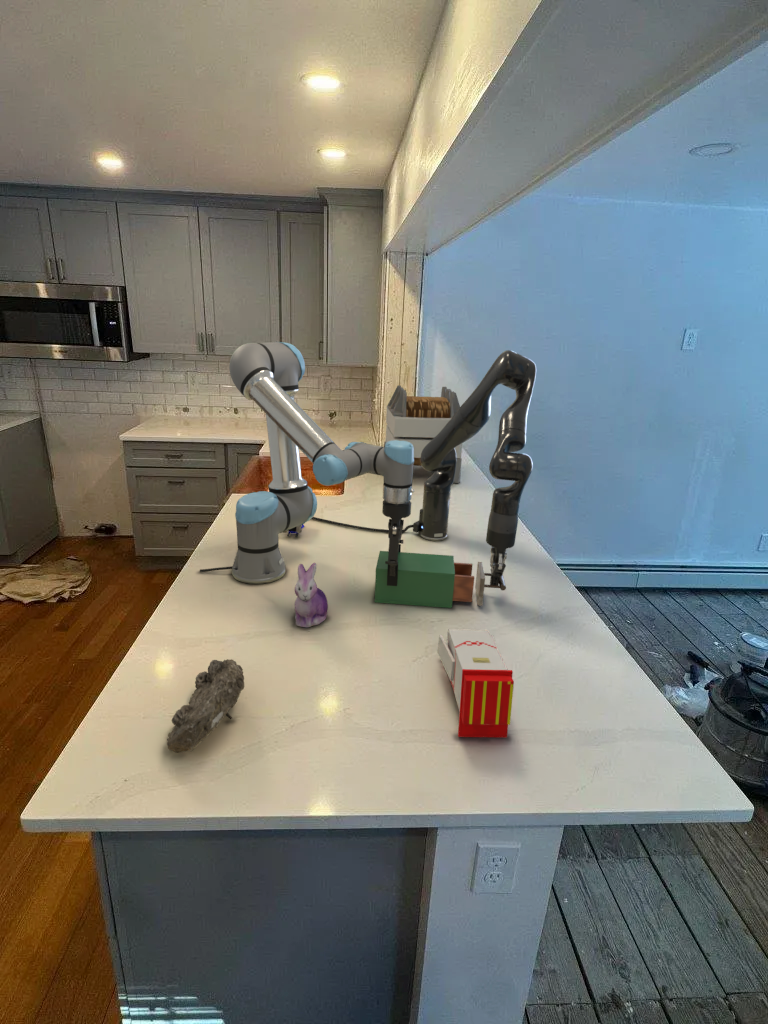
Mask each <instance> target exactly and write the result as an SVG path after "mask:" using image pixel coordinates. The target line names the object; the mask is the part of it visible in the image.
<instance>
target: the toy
mask: <svg viewBox="0 0 768 1024" xmlns="http://www.w3.org/2000/svg"><path fill="white" fill-rule="evenodd" d="M446 640H447V643H446V641H445V639H444V636H443V635H442V634H439V637H438V646H437V656H438V657H439V659H440V661H441V663H442V666H443V668H444V670H445V672H446V674H447V677H448V679H449V681H450V684H451V687H452V690H453V693H454V697H455V701H456V705H457V708H458V711H459V714H458V715H459V716H458V730H457V731H458V732H457V737H458V738H508V731H509V726H510V725H511V717H512V707H513V697H514V696H513V695H514V684H515V680H514V679H513V673H514V671H513V670H512V669H508V667H507V665H506V662H505V661H504V659H503V658H502V655H501V653H500V651H499V649H498V647H497V643H496V639H495V637H494V635H493V634H491V632H490V631H489V629H467V628H466V629H465V628H463V629H461V628H460V629H459V628H448V630H447V639H446Z"/></svg>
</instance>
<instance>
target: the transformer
mask: <svg viewBox="0 0 768 1024" xmlns="http://www.w3.org/2000/svg"><path fill="white" fill-rule="evenodd" d="M440 393H441V394H440V396H415V395H414V396H413V395H412V396H411V395H407V394H408V393H407V390H406V389H404V388H403V387H402V385H399V384H398V385H397V386H396V388H395V390H394V392H393V394H392V395H391V398H390V400H389V402H388V404H387V405H386V413H385V414H386V415H385V423H386V428H385V438H384V442H383V447H385V444H386V443H387V442H388V441H393V440H399V441H407V442H410V443H411V444H412V445H413V447H414V463H413V467H415V466H416V467H417V466H418V467H422V466H421V462H420V456H421V453H422V450H423V449H424V447H425V446H426V445H427V444H428V443H429V442H430V441H431V440H432V439H433V438H434V437H436V436H437V435H438V434H439V433H440V431H441V430H442V429H443V428H444V427H445V425H446V424H447V423H448V422H449V421H450V419H451V418H452V417H453V416H454V414H455V413H456V412H457V410H458V409H459V408H460V407H461V405H460V402H459V398H458V395H457V392H455V391H453V390H452V389H451V388H447V386H442V387H441V392H440ZM455 450H456V455H457V461H456V469H455V476H454V482H453V484H455V483H456V484H459V483H461V472H462V461H463V460H462V453H463V443H462V444H460V445H458V446H457V447H455Z"/></svg>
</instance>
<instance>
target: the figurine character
mask: <svg viewBox="0 0 768 1024" xmlns="http://www.w3.org/2000/svg"><path fill="white" fill-rule="evenodd" d="M304 528H305V524H303V525H300V526H297V527H294V528H292V529H289V530H287V531H284V532H282V533H285V534H287V537H290V535H291V534H292V535H294V534H295V538H298V537H299V534H301V533H302V530H303V529H304Z"/></svg>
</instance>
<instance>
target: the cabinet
mask: <svg viewBox="0 0 768 1024" xmlns="http://www.w3.org/2000/svg"><path fill="white" fill-rule="evenodd" d="M388 553H389V550H379V552H378V557H377V562H376V566H375V580H374V581H375V583H374V603H376V604H377V603H378V604H390V605H391V604H392V605H405V606H418V607H429V608H445V609H452V608H453V602H454V601H453V590H454V579H455V569H454V563H455V559H454V557H455V556H454V555H448V554H435V553H434V554H433V553H421V552H420V553H418V552H407V551H406V552H403V551H400V552H398V579H397V586H387V570H388V564H385V561H388Z"/></svg>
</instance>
